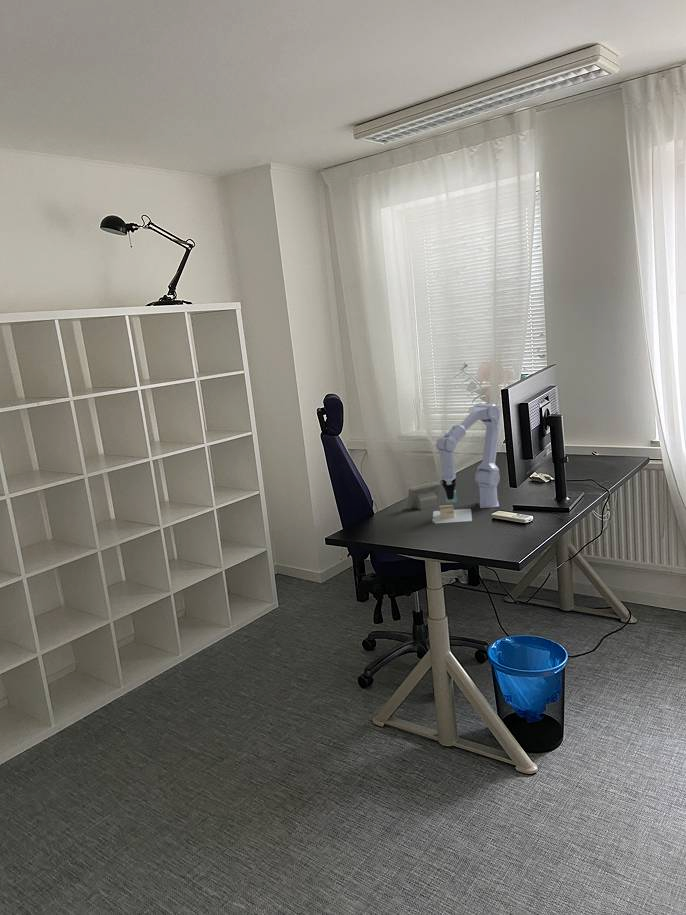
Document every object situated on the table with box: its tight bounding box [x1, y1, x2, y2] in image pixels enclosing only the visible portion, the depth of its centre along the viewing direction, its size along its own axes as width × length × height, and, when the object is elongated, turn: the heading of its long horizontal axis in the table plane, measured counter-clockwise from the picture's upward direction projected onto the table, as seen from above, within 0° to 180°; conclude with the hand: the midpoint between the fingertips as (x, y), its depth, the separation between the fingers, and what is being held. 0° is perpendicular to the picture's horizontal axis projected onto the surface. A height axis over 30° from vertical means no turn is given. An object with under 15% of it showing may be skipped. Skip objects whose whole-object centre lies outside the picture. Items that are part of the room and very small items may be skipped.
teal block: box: [444, 489, 458, 504], centre depth 294 cm, size 4×4×4 cm
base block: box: [439, 504, 455, 519], centre depth 296 cm, size 6×6×4 cm
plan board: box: [432, 508, 473, 524], centre depth 297 cm, size 18×16×1 cm
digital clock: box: [406, 481, 441, 511], centre depth 315 cm, size 16×9×11 cm, turn 103°
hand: (450, 497), depth 295 cm, fingers closed on teal block, 4 cm apart
